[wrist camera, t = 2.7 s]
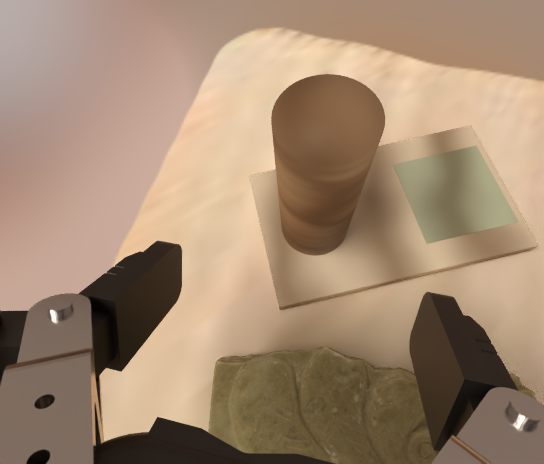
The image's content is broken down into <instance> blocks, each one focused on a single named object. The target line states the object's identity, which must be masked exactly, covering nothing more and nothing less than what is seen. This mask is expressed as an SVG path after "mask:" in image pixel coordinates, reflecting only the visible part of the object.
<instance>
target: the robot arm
mask: <svg viewBox="0 0 544 464" xmlns="http://www.w3.org/2000/svg"><path fill="white" fill-rule="evenodd" d="M181 287H182V249H181V246H180V245H179V244H173V243H168V242H163V241H156V242H155V243H154V244H152V245H151V246H150V247H149V248H148V249H146V250H145V251H144V252H138V253H135V254H133V255H130V256H128V257H125V258H124V259H123V260H121V261H120V262H119V263H118V264H116V265H115V267H112V268H111V269H110V270H109V271H107V273H105V274H103V275H102V276H101V277H100V278H98V279H97V280H96V281H94V282H93V283H92V284H90V285H89V286H88V287H86V288H85V289H84V290H83V291H81V292H80V293H79V294H59V295H55V296H51V297H49V298H46V299H43V300H41V301H39V302H38V303H36V304H35V305H34V306H33V307H31V309H30V310H29V311H0V464H335V463H331V462H327V461H323V460H320V459H316V458H312V457H308V456H304V455H301V454H270V453H244V452H242V451H240V450H238V449H236V448H234V447H233V446H231V445H229V444H227V443H226V442H224V441H222V440H220V439H219V438H217V437H215V436H214V435H212V434H210V433H208V432H207V431H205V430H203V429H201V428H198V427H194V426H190V425H186V424H182V423H178V422H175V421H171V420H167V419H163V418H159V417H157V419H156V421H155V422H154V424H153V426H152V428H151V429H150V431H149V432H142V433H134V434H128V435H124V436H120V437H117V438H114V439H111V440H108V441H105V442H104V435H103V417H102V399H101V382H100V374H101V373H102V372H103V371H104V369H105V368H109V369H113V370H117V371H122V370H123V369H124V368H125V366H126V365H127V364H128V363H129V361H130V360H131V359H132V358H133V356H134V355H135V354H136V352H137V351H138V350H139V349H140V347H141V346H142V345H143V344H144V342H145V341H146V340H147V339H148V337H149V336H150V335H151V333H152V332H153V331H154V330H155V328H156V327H157V326H158V325H159V323H160V322H161V321H162V320H163V318H164V317H165V316H166V314H167V313H168V312H169V311H170V309H171V308H172V307H173V306H174V304H175V303H176V302H177V300H178V298H179V295H180V292H181ZM409 347H410V355H411V359H412V363H413V367H414V371H415V375H416V380H417V384H418V388H419V392H420V396H421V400H422V405H423V409H424V413H425V417H426V421H427V425H428V430H429V434H430V438H431V442H432V446H433V450H436V451H440V452H439V454H438V455H437V456H436V458H435V459H434V460H433V462H432V463H431V464H544V406H543V405H542V404H541V403H539V402H538V401H537V400H535V399H533V398H532V397H530V396H528V395H526V394H524V393H522V392H520V391H519V390H518V388H517V387H516V385H515V383H514V381H513V380H512V378H511V376H510V374H509V373H508V371H507V369H506V367H505V366H504V364H503V362H502V360H501V359H500V357H499V356H498V355H497V352H496V350H495V348H494V346H493V345H492V344H491V341H490V339H489V337H488V336H487V334H486V332H485V330H484V329H483V328H482V327H481V326H480V325H479V324H478V323H477V322H475V321H474V320H473V319H472V318H471V317H470V316H465V315H463V314H462V312H461V310H460V308H459V306H458V304H457V302H456V300H455V299H454V297H451V296H446V295H441V294H435V293H430V292H426V293H425V295H424V296H423V299H422V302H421V305H420V308H419V311H418V314H417V317H416V320H415V323H414V326H413V329H412V332H411V336H410V346H409Z"/></svg>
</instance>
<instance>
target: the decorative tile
mask: <svg viewBox="0 0 544 464" xmlns="http://www.w3.org/2000/svg"><path fill="white" fill-rule="evenodd" d="M510 376H511V378H512V380H513V381H514V383H515V385H516V387H517V388H518V390H519V391H520V392H522V393H524V394H526V395H528V396H530V397H532V398H533V399H535V400H536V398H535V395H534V393H533V391H531V390H529V389H528V388H526V387H524V386H522V384H521V382H520V380H519V378H518V377H517V376H515V375H513V374H510ZM208 433H210V434H212V435H214V436H215V437H217V438H219V439H220V440H222V441H224V442H226V443H227V444H229V445H231V446H233V447H234V448H236V449H238V450H240V451H242V452H244V453H270V454H301V455H304V456H308V457H312V458H316V459H320V460H323V461H327V462H331V463H335V464H431V463H432V462H433V460H434V459H435V458H436V456H437V455H438V454H439V452H440V451H436V450H433V446H432V442H431V438H430V434H429V430H428V425H427V421H426V417H425V413H424V409H423V405H422V400H421V396H420V392H419V388H418V384H417V380H416V375H415V374H413V373H410V372H408V371H407V370H405V369H402V368H396V369H393V368H382V367H381V368H374V367H372V366H371V365H368V364H367V363H366V362H365V361H364V360H362V359H359V358H353V357H347V356H345V355H341V354H340V353H338V352H336V351H334V350H333V349H331V348H327V347H320V348H317V349H314V350H302V351H293V352H292V351H288V352H280V351H277V352H271V353H269V354H266V355H248V356H242V357H238V356H231V357H224V358H220V359H219V360H217V362H216V365H215V371H214V379H213V389H212V398H211V410H210V421H209V431H208Z"/></svg>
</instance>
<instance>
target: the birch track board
mask: <svg viewBox="0 0 544 464" xmlns="http://www.w3.org/2000/svg"><path fill="white" fill-rule="evenodd" d="M249 178H250V182H251V187H252V191H253V195H254V199H255V204H256V208H257V212H258V217H259V221H260V225H261V230H262V234H263V238H264V243H265V247H266V251H267V256H268V260H269V264H270V269H271V273H272V277H273V282H274V286H275V290H276V295H277V299H278V303H279V308H280V310H281V309H285V308H289V307H294V306H298V305H302V304H306V303H310V302H315V301H319V300H323V299H327V298H331V297H336V296H340V295H344V294H348V293H352V292H357V291H361V290H365V289H369V288H373V287H378V286H382V285H386V284H390V283H394V282H399V281H403V280H407V279H411V278H415V277H420V276H424V275H428V274H432V273H436V272H441V271H445V270H449V269H453V268H457V267H462V266H466V265H470V264H474V263H478V262H483V261H487V260H491V259H495V258H499V257H504V256H508V255H512V254H516V253H520V252H525V251H529V250H531V249H533V248H535V247H537V246H539V245H538V244H537V242H536V240H535V238H534V237H533V235H532V233H531V231H530V229H529V228H528V226H527V224H526V222H525V220H524V219H523V217H522V215H521V213H520V211H519V210H518V208H517V206H516V204H515V203H514V201H513V199H512V197H511V195H510V194H509V192H508V190H507V188H506V186H505V185H504V183H503V181H502V179H501V178H500V176H499V174H498V172H497V170H496V169H495V167H494V165H493V163H492V161H491V160H490V158H489V156H488V154H487V152H486V151H485V149H484V147H483V145H482V144H481V142H480V140H479V138H478V136H477V135H476V133H475V131H474V129H473V127H472V126H471V125H470V126H466V127H461V128H457V129H452V130H448V131H444V132H439V133H435V134H430V135H426V136H422V137H417V138H413V139H408V140H404V141H399V142H395V143H391V144H386V145H382V146H378V147H377V150H376V153H375V156H374V158H373V161H372V164H371V167H370V170H369V172H368V175H367V178H366V181H365V183H364V186H363V189H362V192H361V194H360V197H359V200H358V203H357V206H356V208H355V211H354V214H353V217H352V219H351V222H350V225H349V228H348V230H347V233H346V236H345V238H344V240H343V242H342V243H341V244H340V245H339V246H338V247H337V248H336V249H335V250H333V251H331V252H329V253H327V254H324V255H316V256H313V255H306V254H303V253H301V252H298V251H297V250H295V249H294V248H292V247H291V246H290V245H289V244H288V242H287V241H286V240H285V238H284V236H283V233H282V228H281V217H280V207H279V196H278V185H277V175H276V170H272V171H267V172H263V173H258V174H254V175H250V176H249Z"/></svg>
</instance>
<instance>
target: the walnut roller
mask: <svg viewBox="0 0 544 464" xmlns="http://www.w3.org/2000/svg"><path fill="white" fill-rule="evenodd" d="M271 119H272V133H273V143H274V154H275V164H276V175H277V185H278V196H279V207H280V217H281V228H282V233H283V236H284V238H285V240H286V241H287V242H288V244H289V245H290V246H291V247H292V248H294V249H295V250H297V251H298V252H301V253H303V254H306V255H313V256H316V255H324V254H327V253H329V252H331V251H333V250H335V249H336V248H337V247H338V246H339V245H340V244H341V243H342V242H343V240H344V238H345V236H346V233H347V230H348V228H349V225H350V222H351V219H352V217H353V214H354V211H355V208H356V206H357V203H358V200H359V197H360V194H361V192H362V189H363V186H364V183H365V181H366V178H367V175H368V172H369V170H370V167H371V164H372V161H373V158H374V156H375V153H376V150H377V147H378V145H379V142H380V139H381V136H382V133H383V130H384V126H385V114H384V109H383V107H382V104H381V102H380V100H379V99H378V97H377V96H376V95H375V94H374V93H373V92H372V91H371V90H370V89H369V88H368V87H367V86H365V85H364V84H362V83H360V82H358V81H356V80H354V79H351V78H348V77H345V76H341V75H331V74H325V75H316V76H311V77H307V78H304V79H302V80H299V81H297V82H296V83H294V84H292V85H291V86H289V87H288V88H287V89H286V90H285V91H283V93H282V94H281V95H280V96H279V98H278V99H277V101H276V103H275V105H274V107H273V111H272V117H271Z"/></svg>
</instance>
